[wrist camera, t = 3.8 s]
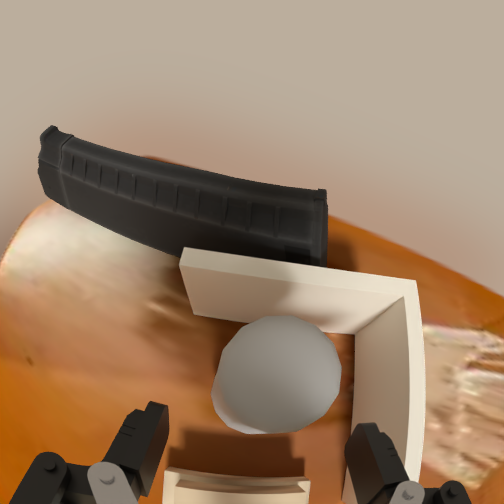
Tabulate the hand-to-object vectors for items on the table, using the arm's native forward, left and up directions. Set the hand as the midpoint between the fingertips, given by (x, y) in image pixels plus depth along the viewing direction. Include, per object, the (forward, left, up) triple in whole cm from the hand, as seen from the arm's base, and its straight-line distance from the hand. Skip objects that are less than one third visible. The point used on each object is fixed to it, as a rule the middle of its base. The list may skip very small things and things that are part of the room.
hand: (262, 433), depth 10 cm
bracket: (-2, -1, -9) cm, 10 cm away
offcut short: (0, +7, -8) cm, 10 cm away
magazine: (+10, -15, -10) cm, 21 cm away
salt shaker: (0, -2, -10) cm, 10 cm away
